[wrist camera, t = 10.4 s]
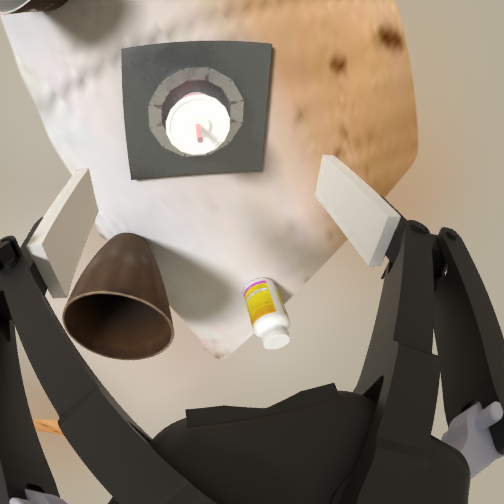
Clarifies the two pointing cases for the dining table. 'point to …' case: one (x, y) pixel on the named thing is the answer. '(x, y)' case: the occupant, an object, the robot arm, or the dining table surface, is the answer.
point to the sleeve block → (184, 82)
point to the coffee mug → (28, 5)
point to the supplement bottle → (267, 313)
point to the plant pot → (120, 303)
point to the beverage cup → (197, 124)
